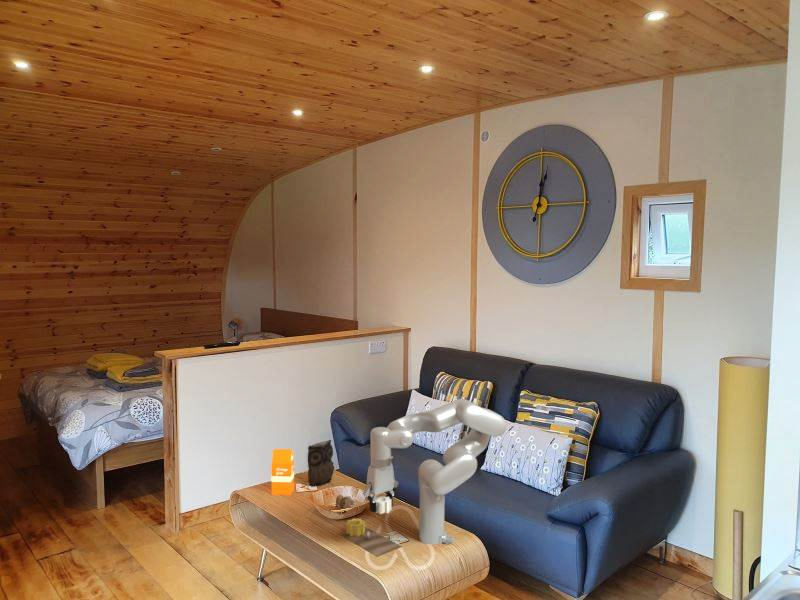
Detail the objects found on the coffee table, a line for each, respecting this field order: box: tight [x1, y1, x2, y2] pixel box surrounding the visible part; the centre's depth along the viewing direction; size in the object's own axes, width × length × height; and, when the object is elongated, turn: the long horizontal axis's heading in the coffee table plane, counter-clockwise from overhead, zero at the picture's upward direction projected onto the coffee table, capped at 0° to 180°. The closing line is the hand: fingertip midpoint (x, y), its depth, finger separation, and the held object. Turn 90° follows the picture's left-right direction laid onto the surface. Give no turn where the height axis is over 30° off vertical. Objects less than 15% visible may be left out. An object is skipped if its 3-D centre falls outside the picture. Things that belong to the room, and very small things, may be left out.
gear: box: [346, 517, 366, 536], centre depth 239 cm, size 7×7×4 cm
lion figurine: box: [335, 494, 356, 509], centre depth 260 cm, size 15×5×9 cm, turn 34°
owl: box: [307, 439, 335, 488], centre depth 293 cm, size 13×13×20 cm
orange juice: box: [271, 448, 295, 496], centre depth 282 cm, size 8×9×20 cm
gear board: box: [337, 525, 403, 558], centre depth 232 cm, size 24×12×4 cm, turn 41°
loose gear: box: [375, 495, 393, 515], centre depth 226 cm, size 7×7×4 cm
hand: (381, 508), depth 227 cm, fingers closed on loose gear, 7 cm apart
